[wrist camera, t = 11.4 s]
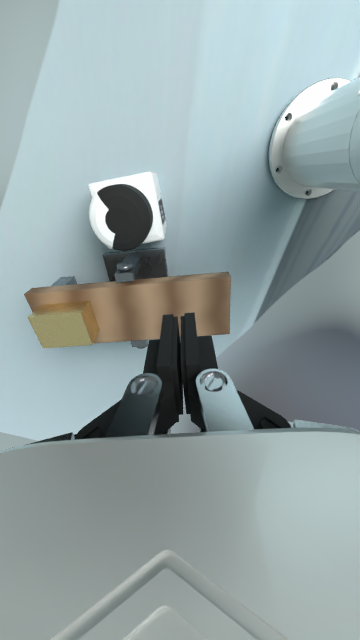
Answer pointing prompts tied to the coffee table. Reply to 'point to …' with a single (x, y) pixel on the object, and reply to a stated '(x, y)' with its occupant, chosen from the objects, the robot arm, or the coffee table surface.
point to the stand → (130, 270)
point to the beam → (147, 304)
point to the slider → (65, 324)
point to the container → (127, 211)
